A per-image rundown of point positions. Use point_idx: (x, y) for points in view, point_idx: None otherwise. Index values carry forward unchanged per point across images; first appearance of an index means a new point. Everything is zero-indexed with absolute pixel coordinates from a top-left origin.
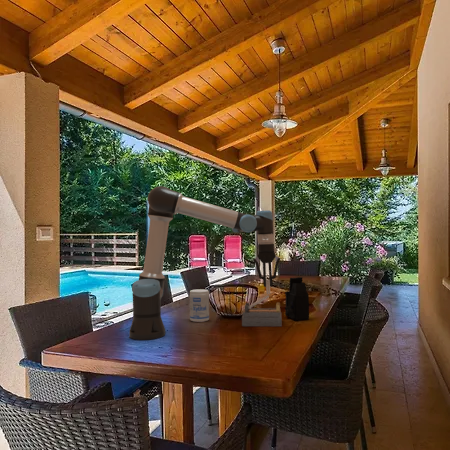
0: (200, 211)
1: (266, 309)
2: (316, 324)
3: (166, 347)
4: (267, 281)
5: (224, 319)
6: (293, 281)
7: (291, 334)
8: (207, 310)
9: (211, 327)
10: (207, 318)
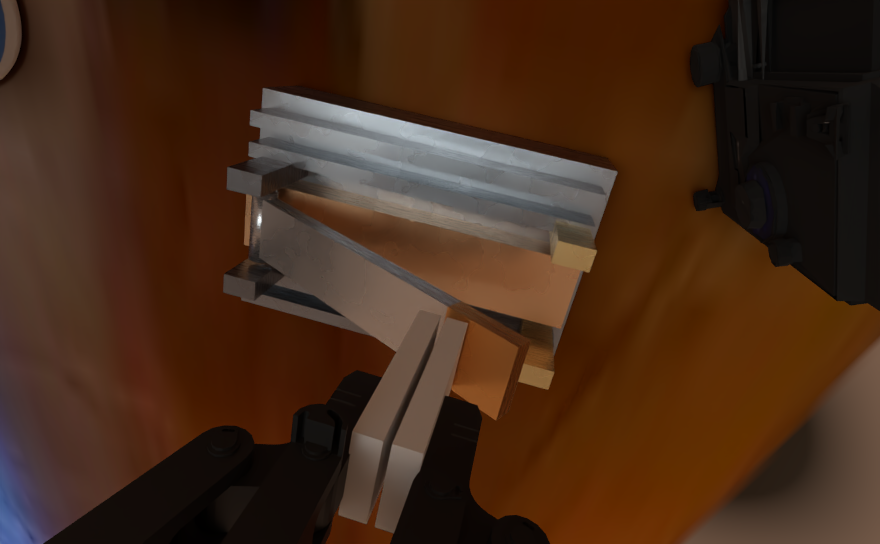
0: None
1: (454, 206)
2: (835, 350)
3: (10, 525)
4: (372, 506)
5: (138, 9)
6: None
7: (544, 516)
8: None
9: (99, 256)
10: (6, 55)
